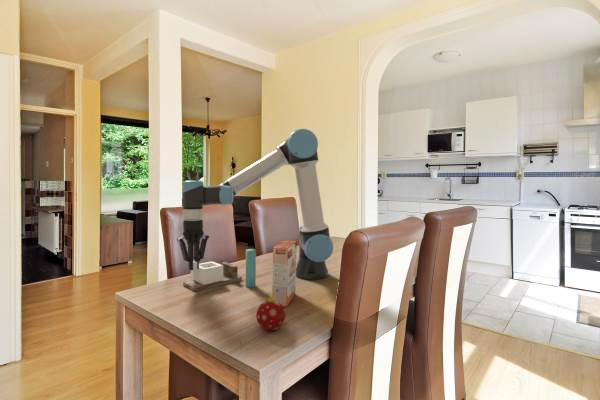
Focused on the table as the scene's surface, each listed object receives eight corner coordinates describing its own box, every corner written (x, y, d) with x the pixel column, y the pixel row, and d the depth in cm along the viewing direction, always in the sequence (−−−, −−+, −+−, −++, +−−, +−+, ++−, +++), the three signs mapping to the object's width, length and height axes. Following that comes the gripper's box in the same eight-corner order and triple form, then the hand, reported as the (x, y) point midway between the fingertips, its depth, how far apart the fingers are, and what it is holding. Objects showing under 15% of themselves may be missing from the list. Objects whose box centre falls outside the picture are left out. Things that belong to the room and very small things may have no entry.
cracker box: (288, 307, 119) (288, 248, 117) (271, 306, 120) (271, 247, 118) (296, 294, 132) (297, 240, 131) (281, 292, 134) (281, 239, 132)
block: (223, 280, 143) (223, 265, 142) (203, 284, 136) (203, 269, 136) (212, 275, 149) (212, 261, 149) (192, 279, 143) (192, 265, 142)
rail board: (242, 280, 149) (242, 265, 148) (195, 291, 133) (194, 275, 133) (229, 275, 156) (229, 261, 155) (183, 285, 141) (183, 270, 140)
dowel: (257, 286, 141) (257, 250, 140) (249, 288, 138) (249, 251, 137) (251, 283, 144) (251, 248, 143) (243, 285, 141) (243, 250, 140)
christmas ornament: (265, 338, 96) (265, 303, 95) (251, 327, 103) (251, 294, 102) (290, 330, 101) (291, 297, 100) (275, 320, 108) (275, 289, 107)
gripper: (203, 217, 144) (203, 272, 145) (173, 219, 134) (174, 278, 136) (212, 218, 138) (213, 276, 140) (181, 221, 129) (182, 283, 131)
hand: (193, 277), depth 138 cm, fingers closed
